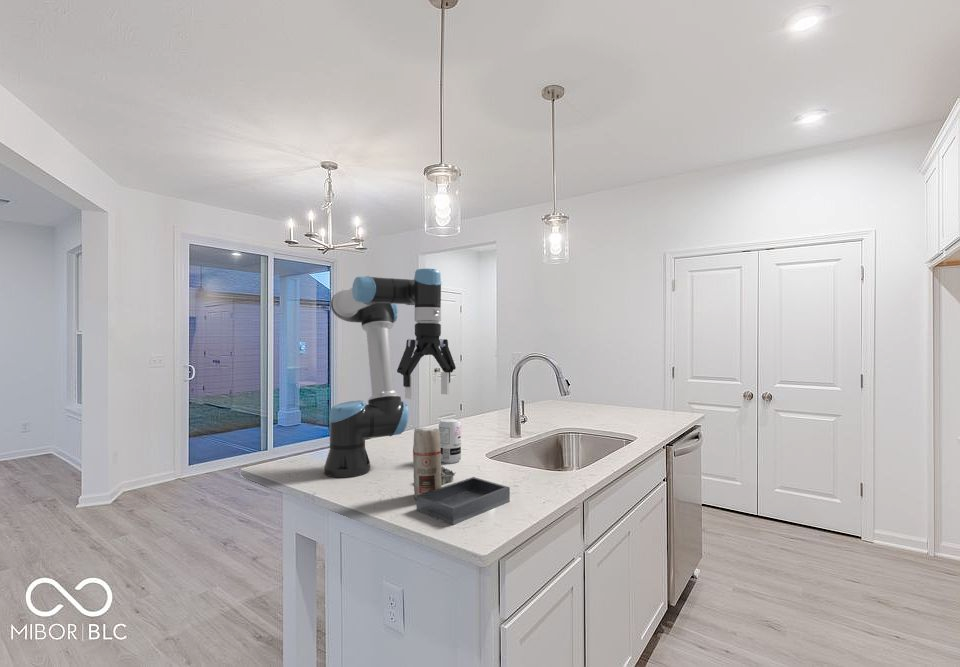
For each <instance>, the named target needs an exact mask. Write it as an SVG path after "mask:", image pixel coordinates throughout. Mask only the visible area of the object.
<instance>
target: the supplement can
mask: <svg viewBox="0 0 960 667" xmlns="http://www.w3.org/2000/svg"><path fill="white" fill-rule="evenodd" d="M438 429H439V433H440V447H441V463H443V464H455V463H459V462H460V460H461V459H462V424H461V422H460V419H457V418H442V419H440V421H439V423H438Z"/></svg>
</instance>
